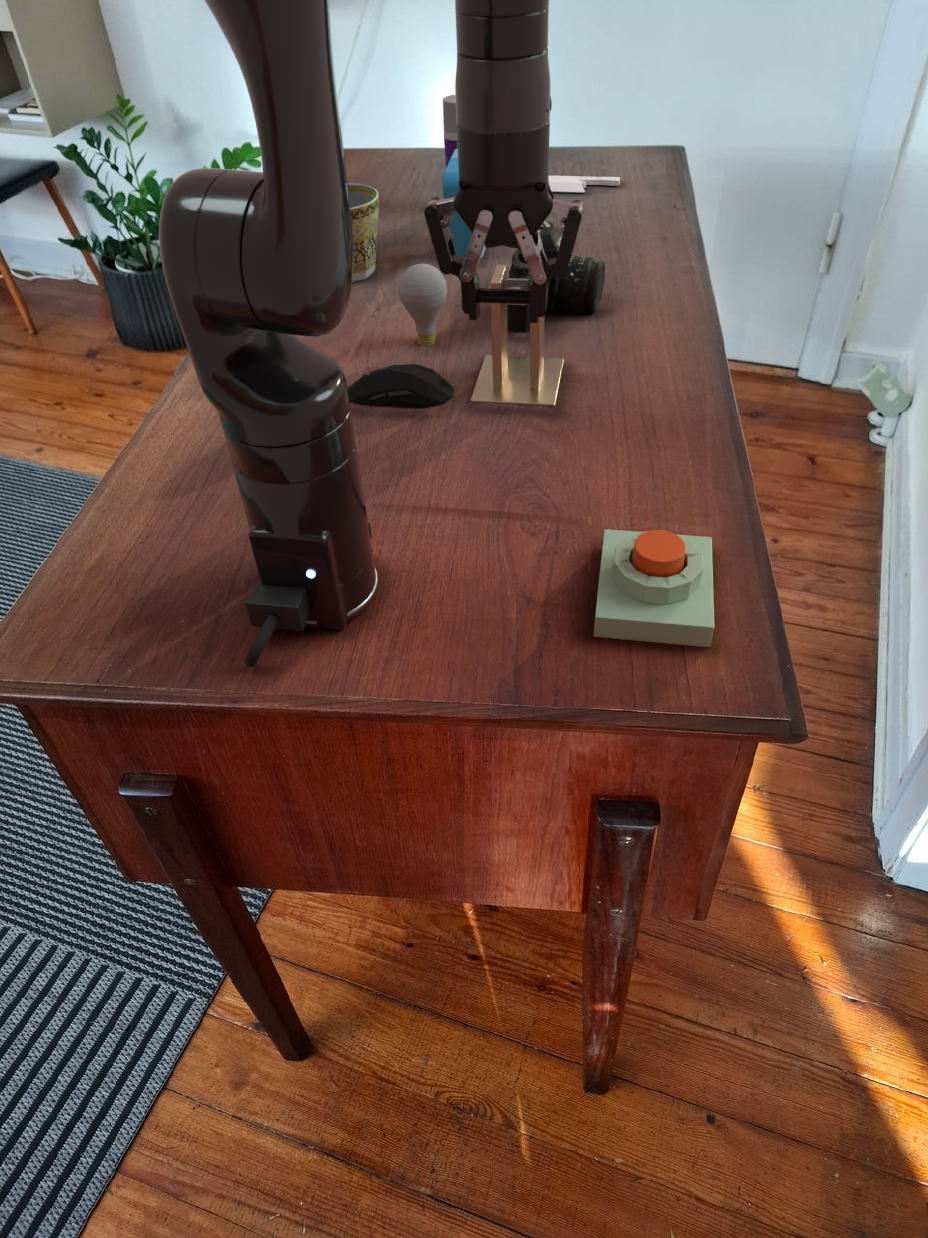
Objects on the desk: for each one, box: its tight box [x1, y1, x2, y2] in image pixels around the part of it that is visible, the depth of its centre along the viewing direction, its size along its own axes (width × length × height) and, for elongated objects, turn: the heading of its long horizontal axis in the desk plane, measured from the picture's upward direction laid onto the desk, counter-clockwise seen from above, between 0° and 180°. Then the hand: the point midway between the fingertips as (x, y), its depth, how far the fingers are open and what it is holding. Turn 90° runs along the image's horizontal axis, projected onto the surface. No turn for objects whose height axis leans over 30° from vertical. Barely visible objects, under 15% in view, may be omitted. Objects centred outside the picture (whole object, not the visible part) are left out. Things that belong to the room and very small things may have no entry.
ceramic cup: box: [348, 183, 380, 283], centre depth 120 cm, size 13×10×10 cm
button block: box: [593, 528, 715, 648], centre depth 72 cm, size 11×9×4 cm
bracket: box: [470, 264, 565, 407], centre depth 94 cm, size 10×9×13 cm
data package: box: [442, 149, 487, 262], centre depth 122 cm, size 12×4×12 cm, turn 172°
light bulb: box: [398, 263, 448, 346], centre depth 102 cm, size 6×6×10 cm
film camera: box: [507, 220, 606, 334], centre depth 108 cm, size 18×12×10 cm
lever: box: [477, 278, 531, 305], centre depth 87 cm, size 12×5×2 cm, turn 170°
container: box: [442, 94, 458, 168], centre depth 134 cm, size 5×5×15 cm
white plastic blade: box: [549, 175, 621, 194], centre depth 142 cm, size 5×15×1 cm, turn 78°
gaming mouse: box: [347, 363, 455, 409], centre depth 97 cm, size 6×15×4 cm, turn 84°
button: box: [632, 529, 686, 578], centre depth 71 cm, size 4×4×2 cm
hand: (505, 317), depth 83 cm, fingers closed on lever, 5 cm apart
